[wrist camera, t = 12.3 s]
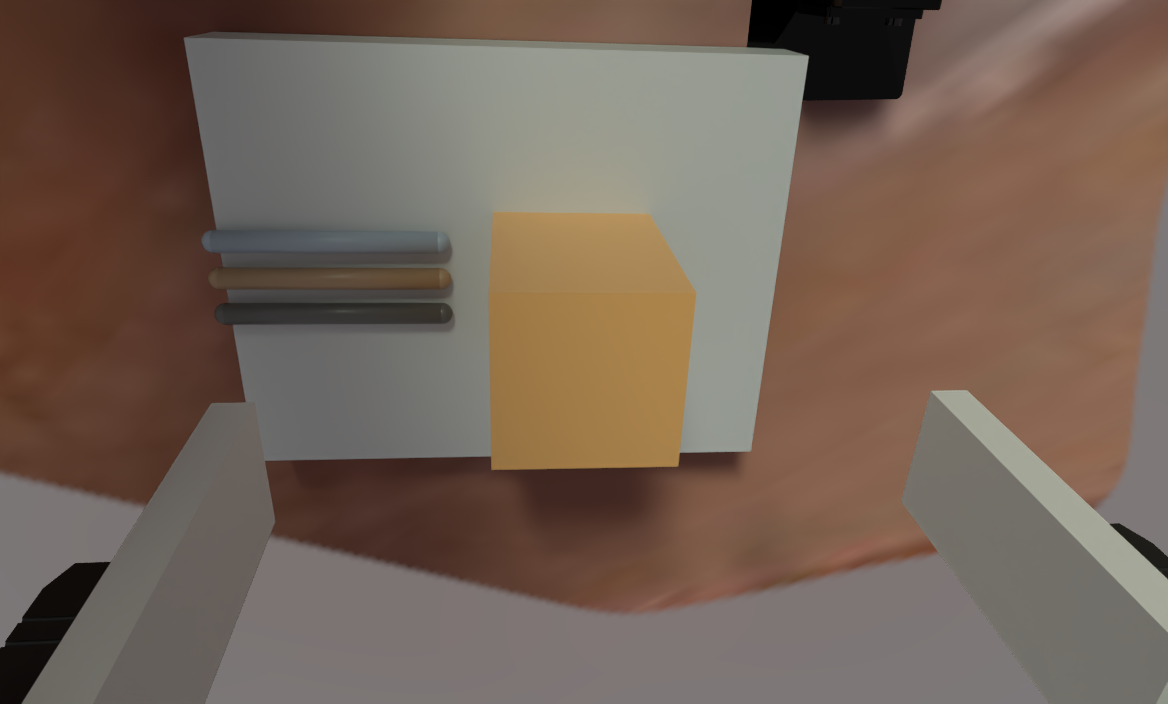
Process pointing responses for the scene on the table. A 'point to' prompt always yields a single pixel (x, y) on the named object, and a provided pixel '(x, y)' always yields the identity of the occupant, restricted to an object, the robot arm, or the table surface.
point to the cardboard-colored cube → (586, 342)
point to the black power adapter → (842, 42)
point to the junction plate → (473, 215)
